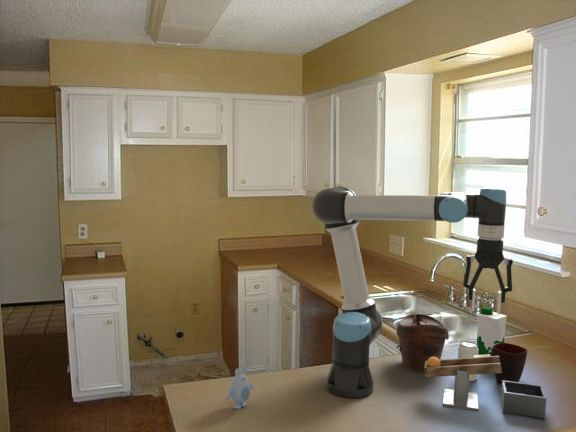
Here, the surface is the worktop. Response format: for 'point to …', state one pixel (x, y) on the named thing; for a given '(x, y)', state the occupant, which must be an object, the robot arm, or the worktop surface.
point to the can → (468, 353)
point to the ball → (433, 362)
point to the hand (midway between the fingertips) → (485, 311)
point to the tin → (523, 399)
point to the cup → (510, 361)
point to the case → (420, 340)
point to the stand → (461, 393)
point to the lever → (465, 366)
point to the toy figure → (239, 389)
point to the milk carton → (490, 330)
